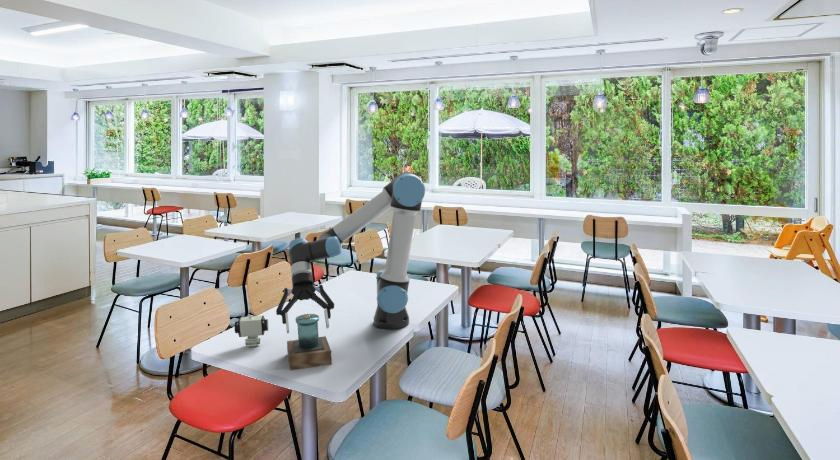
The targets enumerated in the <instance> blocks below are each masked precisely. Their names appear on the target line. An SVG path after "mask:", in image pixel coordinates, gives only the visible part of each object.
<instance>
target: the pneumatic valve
mask: <svg viewBox="0 0 840 460" xmlns="http://www.w3.org/2000/svg"><path fill="white" fill-rule="evenodd" d="M233 328H234V333H235V334H237V335H238V337H239V338H244V337H245V340H244V343H245V346H246V347H247V348H257V347H258V346H259V345H260V344H261V337H260V336H264V335H265V332H267V331H269V319H266V318H265V315H252V314H251V315H250V314H249V316H240V317H239V319H238V321H235V322H234V326H233Z"/></svg>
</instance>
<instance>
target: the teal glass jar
mask: <svg viewBox="0 0 840 460" xmlns="http://www.w3.org/2000/svg"><path fill="white" fill-rule="evenodd" d="M319 321H320V316H319V315H318V314H315V313H307V314H305V313H304V314H300V315H299V316H296V317H295V323H296V324H297V340H298V341H299V347H300V348H304V349H309V348H314V347H316V346H318V345H319V337H320V336H319V324H318V322H319Z"/></svg>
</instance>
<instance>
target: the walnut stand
mask: <svg viewBox="0 0 840 460" xmlns="http://www.w3.org/2000/svg"><path fill="white" fill-rule="evenodd" d="M286 347H287V349H286V351H287V357H288V364H289V370H290V371H297V370H302V369H303V370H304V369H311V368H316V367H323V366H330V365H332V364H333V363H332V362H333V360H332V349H331V346H330V343H329V341H328V339H327V336H326V335H324V336H319V345H318V346H316V347H314V348H309V349H304V348H300V347H299V341H298V339H294V340H287V341H286Z"/></svg>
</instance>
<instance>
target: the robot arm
mask: <svg viewBox="0 0 840 460" xmlns="http://www.w3.org/2000/svg"><path fill="white" fill-rule="evenodd" d="M425 194H426V187H425V183H424V181H423V180H422V178H421V177H419V176H418V175H417V174H414V173H413V172H408V171H407V172H406V171H405V172H401V173H399V174H397V175H396V176H395V177H394V178H393V179H392V180H391V181H390V182H389V183H388V184H386V185H385V186H384V187H382V191H381V192H379V193H378V194H377V195H376V196H374V197H373V198H371V199H370V200H368V201H367V202H365V203H364V204H363V205H361V206H359V208H357V209H356V210H354V211H353V212H352V213H350V214H349V215H348V216H346V217H344V218H343V219H342V220H341V221H339V222H338V223H336V224H335V225H333V226H332V227H331V228H330V229H328V230H326V231H324V232H322V234H321V235H319V238H318V240H313V241H310V242H308V240H307V239H306V238H301V237H300V238H299V237H298V238H294V239H292V240H291V241H290V242H289V244H288V257H289V263H290V274H291V275H290V276H291V283H292V289H290V288H289V289H288V288H287V287H285V288H284V289H283V295H282V297H281V299H280V301H279V304H278V306H277V308H276V311H275V312H276V315H277V316H281V322H282V324H283V325H285V327H286V334H290V326H289V315H288V312H289V311H290V309H292V307H293V306H294V305H295V304H296V303H297V302H298V300H299V301H304V300H305V301H308V300H312V301H313V302H315V303H317V305H318V306H320V307H321V308H322V309H323V310H324V311H323V313H324V319H325V320H324V321H325V328H326V329H329V327H330V321H329V319H331V318H332V316H331V310H333V309H334V308H335V303H334V302H333V300H332V299H331V297H330V296H329V295H328V293H327V292H326V291H325V289H324V286H323V285H322V284H319V285H318V286H315V285H314V278H313V271H312V263H311V262H316V261H321V260H325V259H328V258H334V257H338V256H340V255H341V254H342V246H341V244H343V243H345V242H346V241H347V240H348V239H350V238H351V237H353V236H354V235H356V234H357V233H358V232H359V231H361V230H363V229H364V228H365V227H367V226H368V225H370V224H371V223H372V222H374V221H375V220H377V219H378V218H379V217H381V216H382V215H383V214H385V213H386V212H387V211H389V210H390V209H391V210H392V211H393V214H392V221H391V227H390V232H389V233H390V235H389V241H388V248H387V253H386V254H387V255H386V260H385V267H384V269H381V270H378V271H377V272H376V276H375V278H376V294H377V295H376V302H377V303H376V306H377V307H376V309H375V312H374V315H373V325H374V326H375V327H377V328H379V329H384V330H385V329H386V330H396V329H402V328H405V327H406V326H408V325H409V324H410V315H409V313H408V310H407V305H408V303H409V295H408V291H409V285H410V278H409V276H408V275H407V272H408V268H409V267H408V266H409V260H410V254H411V247H412V241H413V236H414V228H415V221H416V216H417V215H418V214H419V213H420V212H421V208H422V203H423V199H424V197H425ZM315 292H318V293H319V294H320V295H321V297H320V296H318V295H317V294H316V293H315ZM291 294H292V295H293V296H292V298H291V299H290V300H289V301H288V303H287V304H286V305H285V303H286V302H287V299H288V297H289V296H290V295H291ZM284 306H285V307H284Z"/></svg>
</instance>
